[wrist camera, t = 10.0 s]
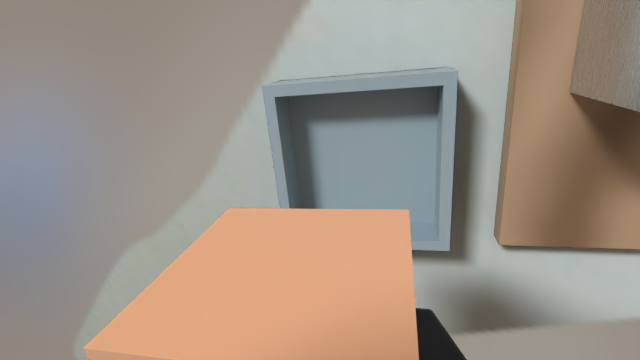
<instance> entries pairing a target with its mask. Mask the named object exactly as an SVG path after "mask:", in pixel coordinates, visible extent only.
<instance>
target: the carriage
mask: <svg viewBox="0 0 640 360" xmlns="http://www.w3.org/2000/svg"><path fill="white" fill-rule="evenodd" d="M570 93H574V94H577V95H581V96H584V97H588V98H592V99H595V100H599V101H602V102H606V103H609V104H613V105H616V106H620V107H624V108H627V109H631V110H634V111H638V112H640V0H584V6H583V12H582V19H581V25H580V31H579V37H578V44H577V50H576V56H575V62H574V69H573V75H572V81H571V88H570Z"/></svg>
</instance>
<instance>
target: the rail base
mask: <svg viewBox="0 0 640 360" xmlns="http://www.w3.org/2000/svg"><path fill="white" fill-rule="evenodd" d="M583 6H584V0H517V2H516V12H515V22H514V33H513V43H512V53H511V63H510V74H509V84H508V94H507V104H506V115H505V125H504V135H503V145H502V156H501V166H500V176H499V186H498V196H497V207H496V217H495V227H494V236H495V238H496V240H497V242H498V244H499V245H516V246H548V247H581V248H614V249H640V112H638V111H634V110H631V109H627V108H624V107H620V106H616V105H613V104H609V103H606V102H602V101H599V100H595V99H592V98H588V97H584V96H581V95H577V94H574V93H570V88H571V81H572V75H573V69H574V62H575V56H576V50H577V44H578V37H579V31H580V25H581V19H582V12H583Z"/></svg>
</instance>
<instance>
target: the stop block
mask: <svg viewBox="0 0 640 360" xmlns="http://www.w3.org/2000/svg"><path fill="white" fill-rule="evenodd" d="M83 350H84V352H85V354H86V357H87V359H88V360H419V353H418V338H417V323H416V308H415V293H414V278H413V262H412V247H411V232H410V217H409V210H396V209H280V208H229V209H228V210H227V211H226V212H225V213H224V214H222V215H221V216H220V217H219V218H218V219H217V220H216V221H215V222H214V223H213V224H212V225H211V226H210V227H209V228H208V229H207V230H206V231H205V232H204V233H203V234H202V235H201V236H200V237H199V238H197V239H196V240H195V241H194V242H193V243H192V244H191V245H190V246H189V247H188V248H187V249H186V250H185V251H184V252H183V253H182V254H181V255H180V256H179V257H178V258H177V259H176V260H175V261H174V262H172V263H171V264H170V265H169V266H168V267H167V268H166V269H165V270H164V271H163V272H162V273H161V274H160V275H159V276H158V277H157V278H156V279H155V280H154V281H153V282H152V283H151V284H150V285H149V286H147V287H146V288H145V289H144V290H143V291H142V292H141V293H140V294H139V295H138V296H137V297H136V298H135V299H134V300H133V301H132V302H131V303H130V304H129V305H128V306H127V307H126V308H125V309H124V310H122V311H121V312H120V313H119V314H118V315H117V316H116V317H115V318H114V319H113V320H112V321H111V322H110V323H109V324H108V325H107V326H106V327H105V328H104V329H103V330H102V331H101V332H100V333H99V334H97V335H96V336H95V337H94V338H93V339H92V340H91V341H90V342H89V343H88V344H87V345H86V346H85V347H84V348H83Z"/></svg>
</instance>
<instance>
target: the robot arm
mask: <svg viewBox="0 0 640 360" xmlns="http://www.w3.org/2000/svg"><path fill="white" fill-rule="evenodd" d="M416 323H417V338H418V353H419V360H466V358H465V357H464V355H463V354H462V353H461V351H460V350H459V348H458V347H457V346H456V344H455V343H454V341H453V340H452V338H451V337H450V335H449V334H448V333H447V331H446V330H445V328H444V327H443V325H442V324H441V323H440V321H439V320H438V318H437V317H436V315H435V314H434V313H433V311H432V310H430V309H421V308H416Z"/></svg>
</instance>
